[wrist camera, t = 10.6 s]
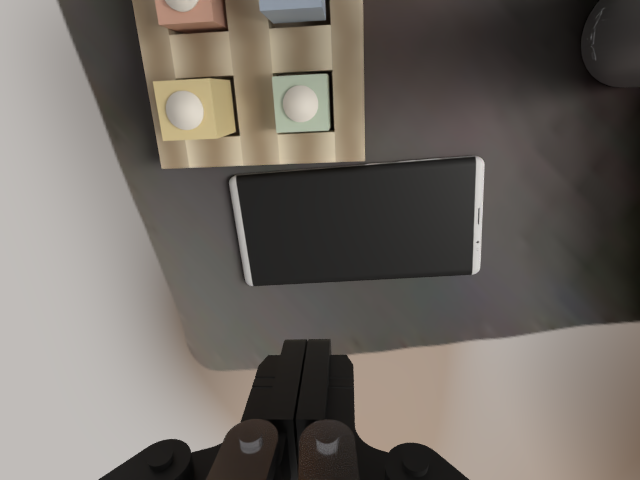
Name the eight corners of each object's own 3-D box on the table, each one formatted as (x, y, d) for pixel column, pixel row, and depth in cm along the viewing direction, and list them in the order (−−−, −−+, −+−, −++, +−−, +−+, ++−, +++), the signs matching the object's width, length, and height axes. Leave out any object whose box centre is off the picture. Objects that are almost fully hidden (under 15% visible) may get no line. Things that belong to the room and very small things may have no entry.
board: (360, -72, 37) (361, -93, 33) (363, 154, 44) (364, 160, 39) (144, -55, 38) (119, -73, 34) (179, 161, 45) (161, 168, 41)
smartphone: (230, 173, 46) (226, 176, 44) (481, 153, 43) (486, 155, 42) (248, 281, 50) (245, 288, 49) (476, 269, 48) (481, 275, 46)
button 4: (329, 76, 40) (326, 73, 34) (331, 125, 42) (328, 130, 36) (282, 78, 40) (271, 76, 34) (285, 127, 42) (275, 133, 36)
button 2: (230, 80, 38) (208, 78, 32) (235, 131, 39) (216, 138, 34) (181, 82, 38) (151, 81, 32) (189, 134, 40) (161, 141, 34)
